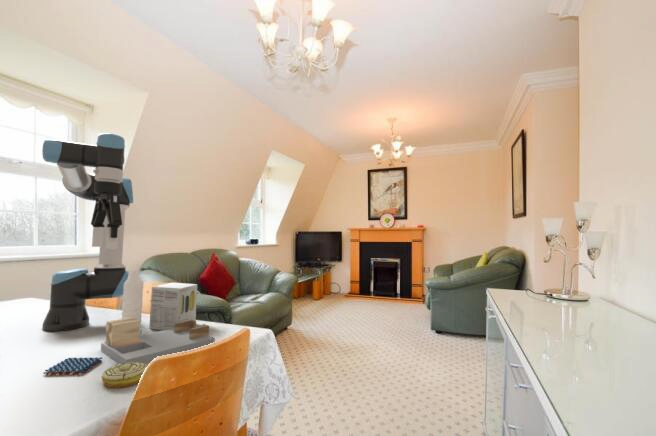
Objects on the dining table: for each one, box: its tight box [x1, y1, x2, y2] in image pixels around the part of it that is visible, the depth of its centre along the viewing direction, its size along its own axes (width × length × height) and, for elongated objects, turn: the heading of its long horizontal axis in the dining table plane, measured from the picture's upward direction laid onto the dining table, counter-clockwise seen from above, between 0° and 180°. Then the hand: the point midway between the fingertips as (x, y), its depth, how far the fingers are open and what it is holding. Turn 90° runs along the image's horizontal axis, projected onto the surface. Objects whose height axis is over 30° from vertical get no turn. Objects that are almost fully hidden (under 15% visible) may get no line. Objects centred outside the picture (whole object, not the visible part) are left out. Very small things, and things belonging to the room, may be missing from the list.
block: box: [104, 317, 140, 347], centre depth 111 cm, size 6×8×7 cm
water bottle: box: [121, 270, 152, 335], centre depth 125 cm, size 9×6×25 cm
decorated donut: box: [101, 362, 148, 389], centre depth 89 cm, size 10×11×4 cm
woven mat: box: [43, 356, 103, 377], centre depth 95 cm, size 10×11×2 cm
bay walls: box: [174, 320, 210, 340], centre depth 122 cm, size 12×7×4 cm, turn 51°
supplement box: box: [148, 282, 198, 331], centre depth 140 cm, size 13×13×18 cm
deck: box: [100, 328, 216, 364], centre depth 114 cm, size 22×29×3 cm
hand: (104, 247), depth 105 cm, fingers open, 13 cm apart
